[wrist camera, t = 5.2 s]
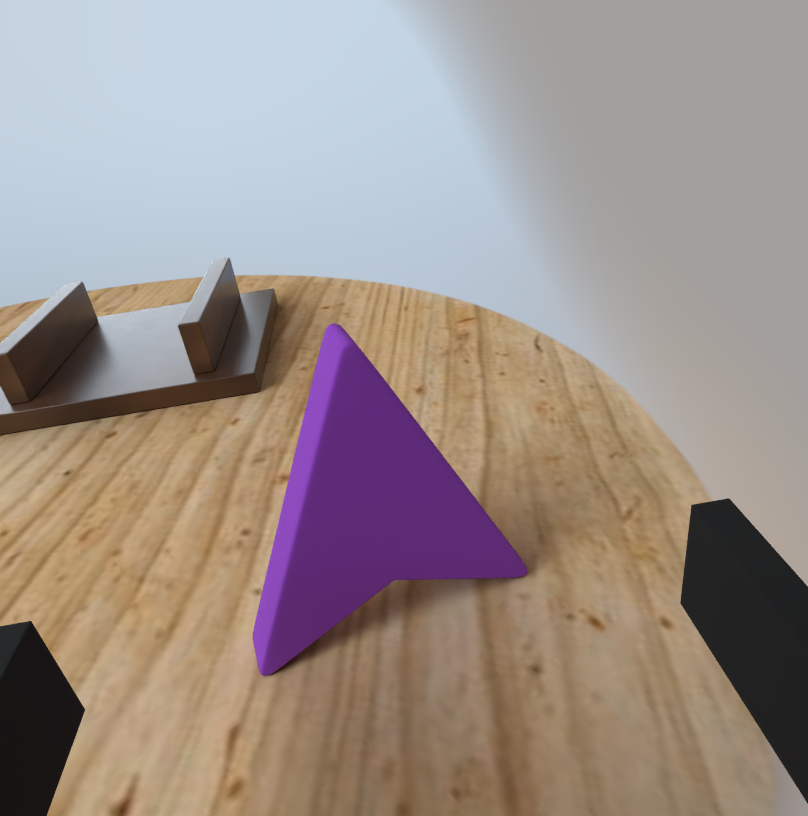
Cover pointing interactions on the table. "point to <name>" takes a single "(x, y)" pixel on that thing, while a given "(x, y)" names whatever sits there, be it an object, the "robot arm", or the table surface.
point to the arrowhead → (364, 510)
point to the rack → (133, 354)
